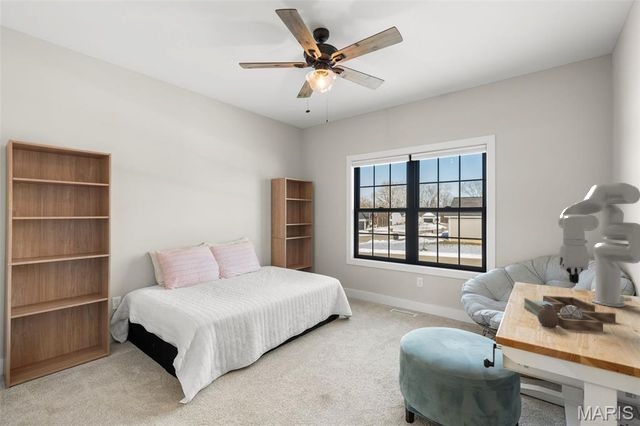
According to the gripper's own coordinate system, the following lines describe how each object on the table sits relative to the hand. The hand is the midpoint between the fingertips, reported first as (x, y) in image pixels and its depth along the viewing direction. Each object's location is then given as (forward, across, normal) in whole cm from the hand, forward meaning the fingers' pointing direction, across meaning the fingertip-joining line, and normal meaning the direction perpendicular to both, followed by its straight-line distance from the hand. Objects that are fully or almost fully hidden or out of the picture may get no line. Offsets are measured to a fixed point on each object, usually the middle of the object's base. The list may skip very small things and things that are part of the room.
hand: (574, 282), depth 136 cm
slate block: (+14, +14, +1) cm, 20 cm away
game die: (+14, +9, +13) cm, 21 cm away
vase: (+14, +21, +18) cm, 31 cm away
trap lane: (+15, +3, +1) cm, 15 cm away
